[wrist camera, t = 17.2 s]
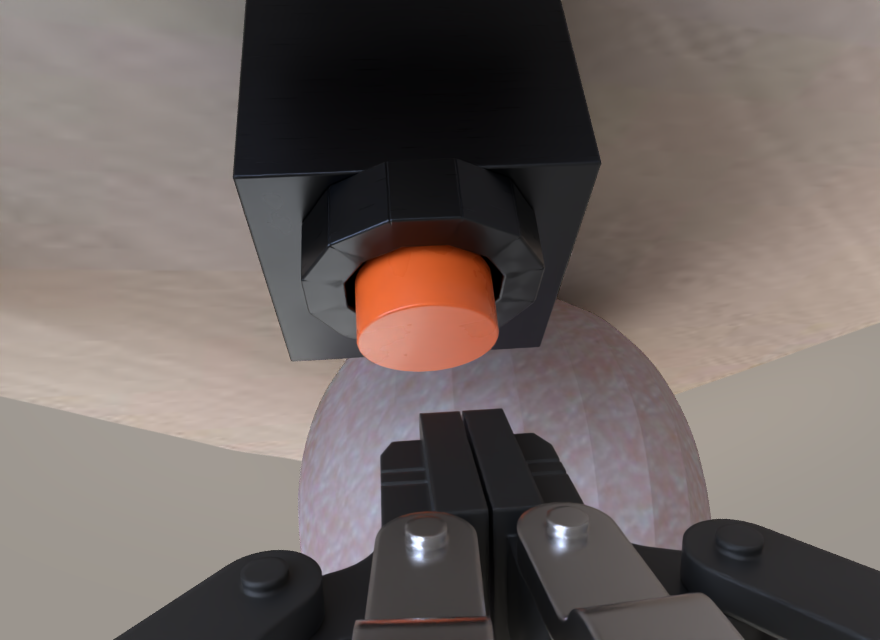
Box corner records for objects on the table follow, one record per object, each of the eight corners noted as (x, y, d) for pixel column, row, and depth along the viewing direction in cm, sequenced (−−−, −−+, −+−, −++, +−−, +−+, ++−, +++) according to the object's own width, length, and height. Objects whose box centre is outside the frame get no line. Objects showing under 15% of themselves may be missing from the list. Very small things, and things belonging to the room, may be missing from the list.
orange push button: (358, 317, 23) (360, 376, 22) (349, 243, 20) (351, 309, 19) (484, 310, 23) (491, 368, 22) (497, 236, 20) (507, 301, 19)
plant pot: (651, 364, 58) (763, 814, 44) (366, 413, 62) (381, 841, 48) (659, 176, 38) (874, 903, 23) (233, 266, 42) (187, 937, 27)
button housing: (295, 152, 34) (289, 409, 28) (248, -87, 24) (223, 227, 18) (505, 144, 35) (548, 393, 29) (543, -91, 25) (621, 210, 19)
